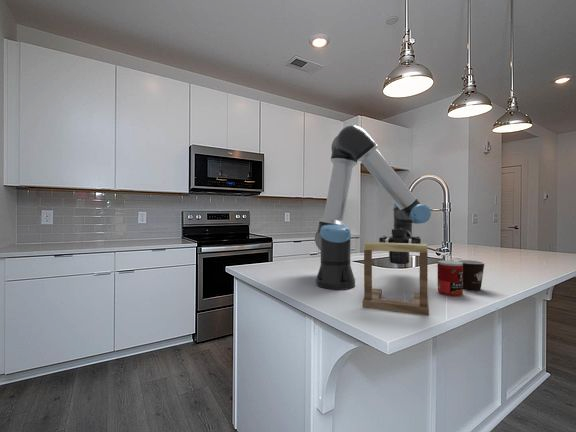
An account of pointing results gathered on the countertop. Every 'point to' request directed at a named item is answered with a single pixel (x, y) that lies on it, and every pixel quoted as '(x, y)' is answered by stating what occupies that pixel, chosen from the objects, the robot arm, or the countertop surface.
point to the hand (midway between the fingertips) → (398, 244)
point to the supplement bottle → (395, 256)
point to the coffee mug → (472, 274)
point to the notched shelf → (374, 295)
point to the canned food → (450, 278)
